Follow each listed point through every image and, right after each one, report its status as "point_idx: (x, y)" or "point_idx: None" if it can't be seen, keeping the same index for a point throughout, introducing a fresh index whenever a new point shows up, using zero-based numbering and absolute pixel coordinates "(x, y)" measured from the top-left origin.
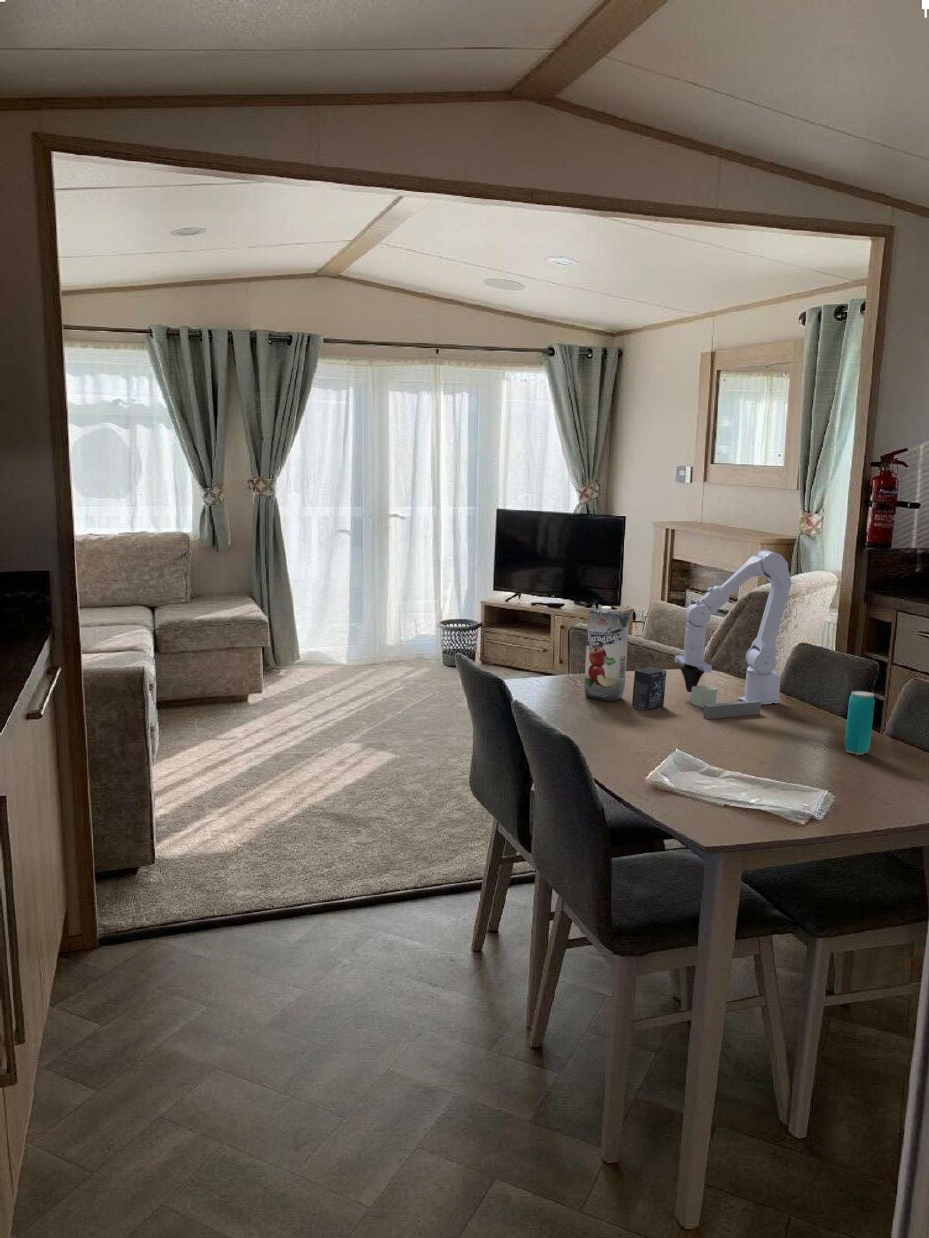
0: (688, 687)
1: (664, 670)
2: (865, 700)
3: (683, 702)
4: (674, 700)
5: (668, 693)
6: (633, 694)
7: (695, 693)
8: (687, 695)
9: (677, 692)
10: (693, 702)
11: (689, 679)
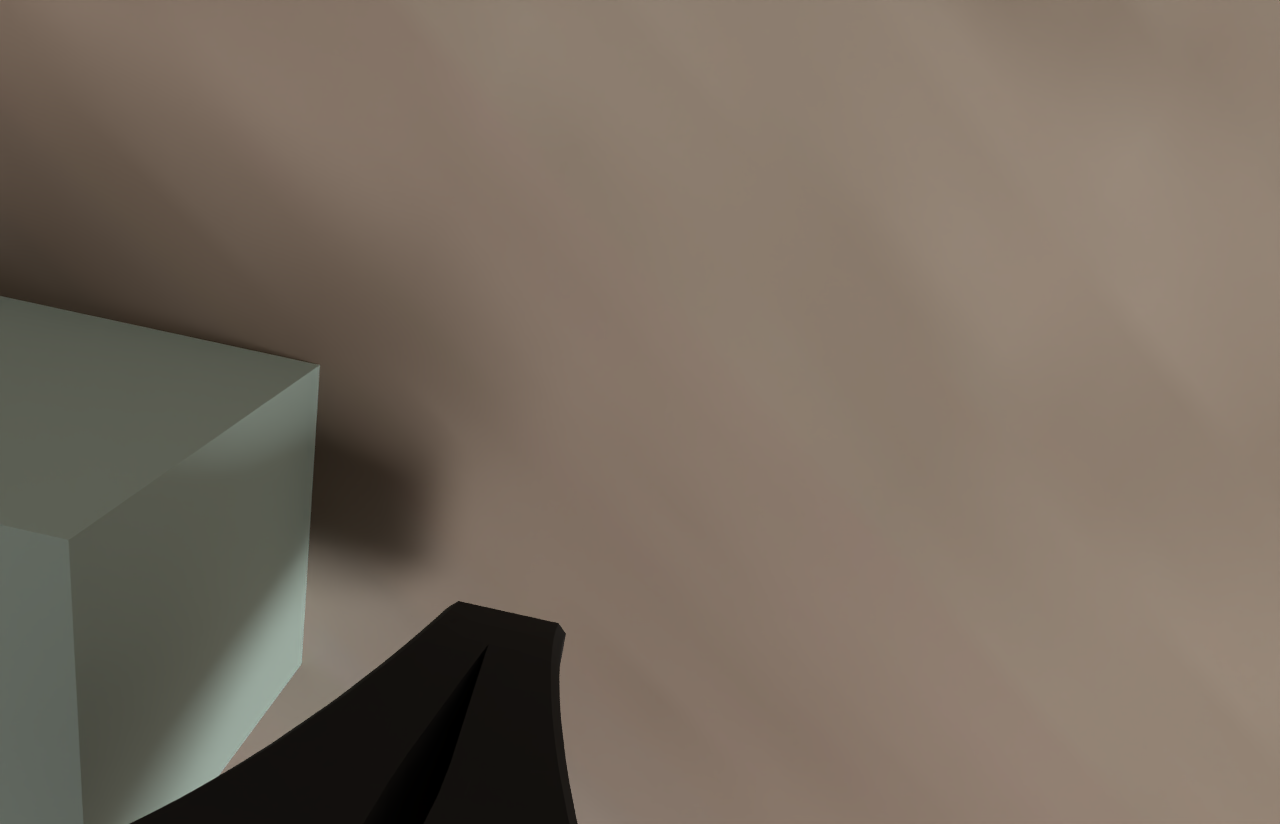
0: (431, 649)
1: None
2: None
3: (414, 266)
4: (635, 220)
5: (1137, 589)
6: None
7: (3, 421)
8: (791, 766)
9: (1064, 790)
10: (207, 355)
11: (234, 794)
